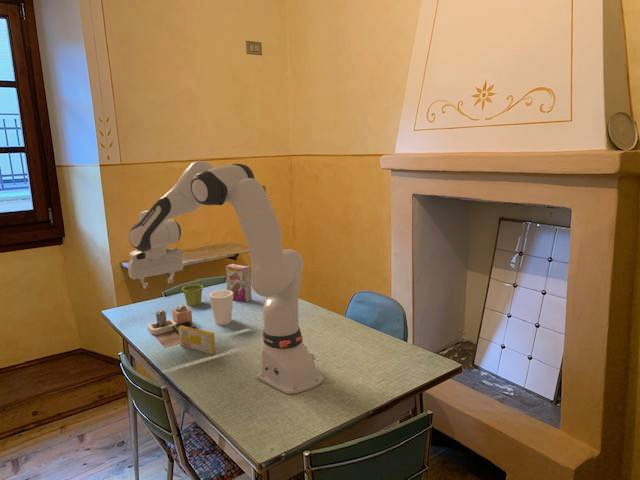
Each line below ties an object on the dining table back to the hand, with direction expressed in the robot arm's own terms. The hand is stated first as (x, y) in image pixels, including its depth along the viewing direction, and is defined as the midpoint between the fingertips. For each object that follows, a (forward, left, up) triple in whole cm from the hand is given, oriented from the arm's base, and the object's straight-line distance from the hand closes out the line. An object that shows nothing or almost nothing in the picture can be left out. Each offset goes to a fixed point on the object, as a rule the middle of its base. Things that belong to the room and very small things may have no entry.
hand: (158, 285), depth 183 cm
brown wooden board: (-7, -3, -19) cm, 21 cm away
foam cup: (-8, -22, -19) cm, 31 cm away
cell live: (0, 0, -18) cm, 18 cm away
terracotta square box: (0, -8, -19) cm, 21 cm away
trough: (0, 0, -19) cm, 19 cm away
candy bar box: (+15, -40, -19) cm, 47 cm away
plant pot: (+21, -20, -19) cm, 35 cm away
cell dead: (0, -8, -18) cm, 20 cm away
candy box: (-25, -5, -20) cm, 32 cm away
